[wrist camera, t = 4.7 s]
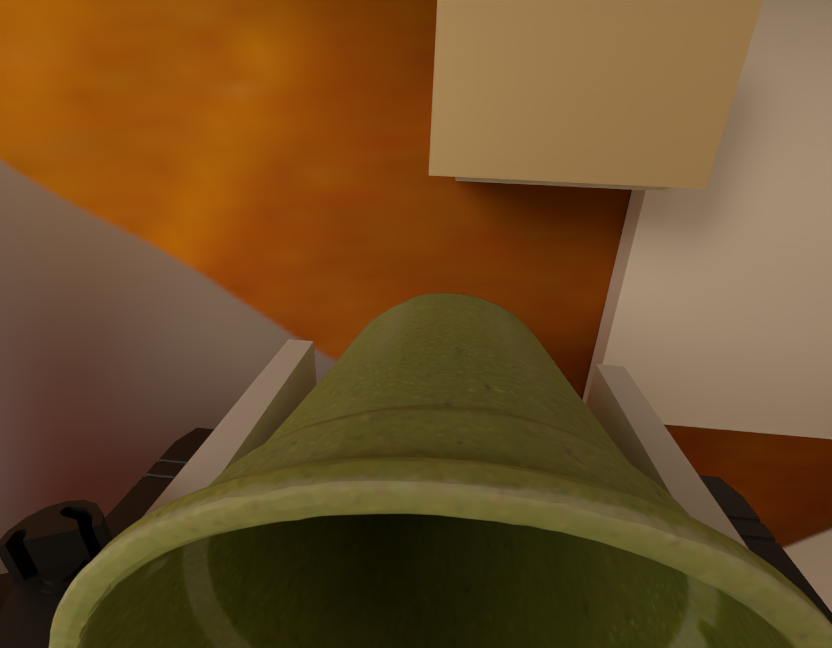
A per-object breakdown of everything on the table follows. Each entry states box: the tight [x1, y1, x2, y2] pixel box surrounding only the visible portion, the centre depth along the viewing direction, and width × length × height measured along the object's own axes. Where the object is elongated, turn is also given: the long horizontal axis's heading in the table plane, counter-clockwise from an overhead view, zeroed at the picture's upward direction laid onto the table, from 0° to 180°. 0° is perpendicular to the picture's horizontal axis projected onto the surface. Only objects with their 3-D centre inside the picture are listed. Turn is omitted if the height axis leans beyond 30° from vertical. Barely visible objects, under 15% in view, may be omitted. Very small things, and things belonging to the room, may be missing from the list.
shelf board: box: [582, 0, 832, 439], centre depth 18 cm, size 23×14×3 cm, turn 178°
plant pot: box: [49, 293, 832, 648], centre depth 9 cm, size 9×9×9 cm
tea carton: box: [429, 0, 763, 191], centre depth 15 cm, size 5×8×8 cm, turn 88°
